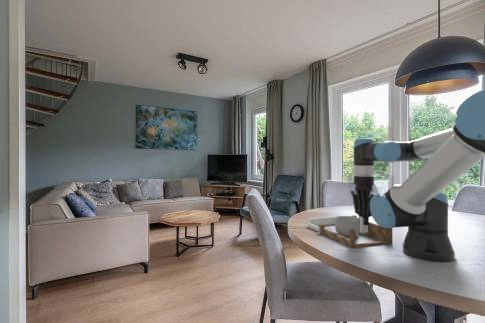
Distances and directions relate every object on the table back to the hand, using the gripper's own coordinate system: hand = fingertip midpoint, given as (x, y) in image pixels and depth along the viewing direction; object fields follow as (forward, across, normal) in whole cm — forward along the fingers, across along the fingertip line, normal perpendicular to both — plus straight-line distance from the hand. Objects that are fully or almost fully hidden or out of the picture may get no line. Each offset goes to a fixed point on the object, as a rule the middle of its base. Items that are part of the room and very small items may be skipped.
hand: (363, 232), depth 105 cm
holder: (+4, +24, 0) cm, 24 cm away
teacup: (+5, +11, 0) cm, 12 cm away
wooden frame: (+4, +6, 0) cm, 7 cm away
